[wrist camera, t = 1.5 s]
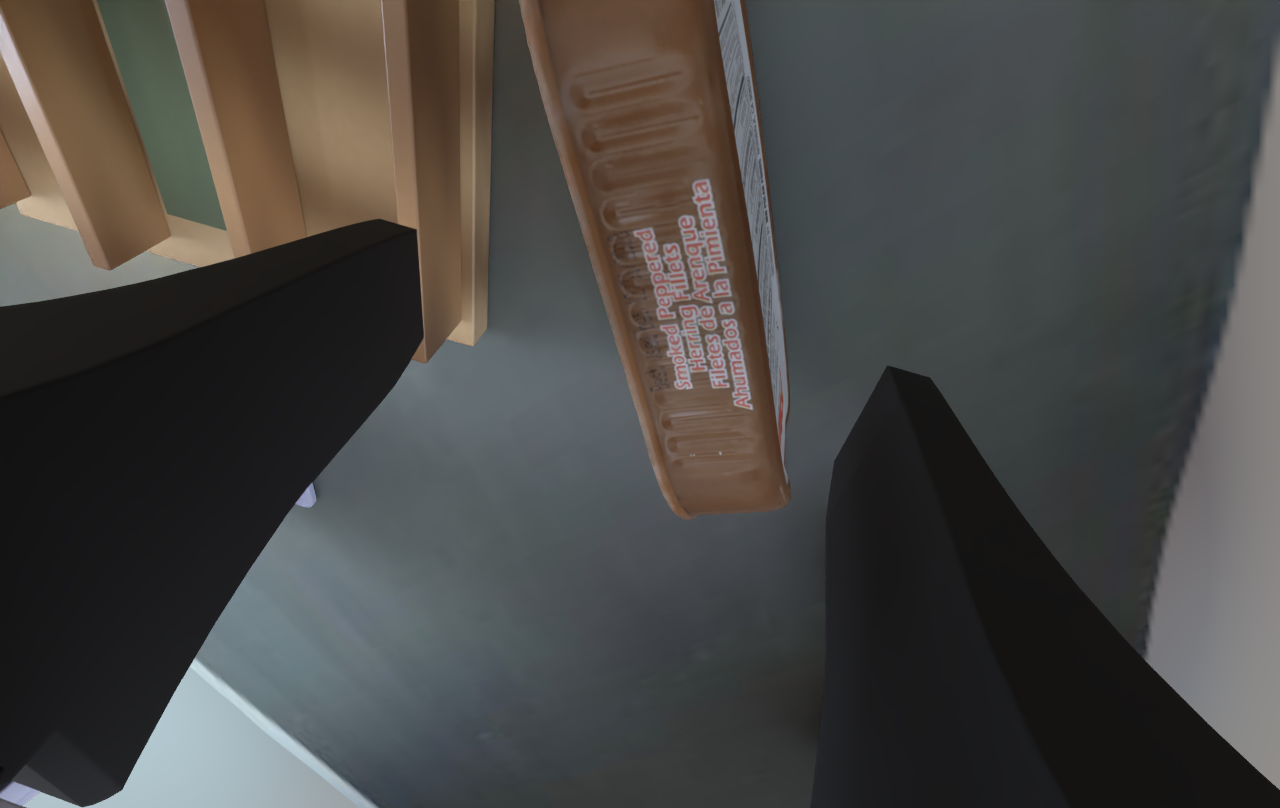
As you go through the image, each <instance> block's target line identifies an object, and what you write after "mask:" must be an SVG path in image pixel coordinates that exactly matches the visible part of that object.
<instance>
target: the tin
mask: <svg viewBox="0 0 1280 808" xmlns="http://www.w3.org/2000/svg"><path fill="white" fill-rule="evenodd" d="M519 3H520V7H521V15H522V19H523V22H524V26H525V31H526V38H527V43H528V46H529V49H530V54H531V58H532V63H533V68H534V72H535V75H536V77H537V81H538V85H539V89H540V93H541V97H542V101H543V104H544V108H545V111H546V115H547V118H548V121H549V125H550V128H551V131H552V135H553V138H554V141H555V144H556V148H557V151H558V154H559V158H560V161H561V164H562V168H563V171H564V174H565V178H566V181H567V184H568V187H569V191H570V194H571V197H572V200H573V203H574V206H575V210H576V213H577V216H578V219H579V223H580V226H581V230H582V234H583V237H584V240H585V244H586V247H587V250H588V253H589V257H590V260H591V263H592V267H593V270H594V273H595V276H596V278H597V282H598V286H599V290H600V293H601V296H602V298H603V302H604V305H605V308H606V312H607V315H608V318H609V322H610V325H611V328H612V332H613V335H614V338H615V342H616V345H617V349H618V353H619V356H620V360H621V362H622V365H623V368H624V371H625V374H626V379H627V382H628V385H629V389H630V392H631V396H632V400H633V403H634V406H635V409H636V412H637V415H638V418H639V421H640V425H641V429H642V432H643V436H644V439H645V442H646V446H647V450H648V454H649V457H650V460H651V463H652V466H653V469H654V472H655V475H656V478H657V481H658V484H659V487H660V489H661V491H662V494H663V496H664V497H665V499H666V501H667V502H668V504H669V506H670V507H671V509H672V511H673V512H674V513H675V514H677V515H678V516H679V517H680V518H683V519H687V520H688V519H693V518H695V517H697V516H698V515H711V514H730V513H752V512H766V511H772V510H777V509H781V508H783V507H785V506H786V505H787V504H788V503H789V501H790V499H791V485H790V481H789V478H788V476H787V473H786V470H785V434H786V426H787V421H788V417H789V411H790V386H789V373H788V361H787V350H786V339H785V327H784V317H783V309H782V301H781V291H780V281H779V272H778V264H777V255H776V246H775V237H774V228H773V218H772V209H771V200H770V190H769V181H768V172H767V163H766V155H765V146H764V138H763V130H762V121H761V114H760V106H759V99H758V91H757V83H756V76H755V68H754V61H753V54H752V47H751V39H750V32H749V25H748V18H747V11H746V4H745V0H519Z"/></svg>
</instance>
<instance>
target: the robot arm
mask: <svg viewBox="0 0 1280 808" xmlns="http://www.w3.org/2000/svg"><path fill="white" fill-rule="evenodd" d="M423 339H424V329H423V314H422V299H421V285H420V270H419V255H418V241H417V229H414V228H410V227H407V226H403V225H400V224H396V223H393V222H390V221H386V220H383V219H374V220H369V221H364V222H359V223H355V224H351V225H348V226H344V227H340V228H337V229H333V230H329V231H326V232H323V233H319V234H316V235H312V236H309V237H306V238H302V239H299V240H296V241H292V242H289V243H285V244H282V245H279V246H275V247H272V248H269V249H265V250H262V251H258V252H255V253H252V254H248V255H245V256H241V257H238V258H234V259H231V260H227V261H223V262H219V263H215V264H211V265H208V266H204V267H200V268H196V269H192V270H188V271H185V272H181V273H177V274H173V275H169V276H166V277H162V278H158V279H154V280H149V281H145V282H140V283H136V284H131V285H127V286H122V287H117V288H112V289H107V290H102V291H97V292H91V293H86V294H80V295H75V296H70V297H64V298H59V299H53V300H47V301H41V302H34V303H26V304H19V305H11V306H4V307H0V808H26V807H23V806H22V805H23V804H25V803H26V802H28V801H30V800H31V799H32V798H33V797H35V796H36V795H38V794H39V793H40V792H43V793H46V794H48V795H51V796H54V797H56V798H59V799H62V800H64V801H67V802H70V803H72V804H75V805H78V806H81V807H85V806H90V805H93V804H96V803H98V802H101V801H103V800H105V799H108V798H109V797H111V796H113V795H114V794H116V793H118V792H119V791H121V790H122V789H123V787H124V785H125V783H126V781H127V779H128V777H129V775H130V774H131V772H132V770H133V768H134V766H135V764H136V762H137V760H138V758H139V756H140V754H141V753H142V751H143V749H144V747H145V745H146V743H147V742H148V740H149V738H150V736H151V734H152V732H153V730H154V729H155V727H156V725H157V723H158V721H159V719H160V718H161V716H162V714H163V712H164V710H165V708H166V707H167V705H168V703H169V701H170V699H171V697H172V696H173V694H174V692H175V690H176V688H177V687H178V685H179V683H180V682H181V679H182V678H183V677H184V675H185V673H186V671H187V670H188V668H189V666H190V665H191V663H192V661H193V660H194V658H195V656H196V655H197V653H198V651H199V650H200V648H201V646H202V645H203V643H204V641H205V639H206V638H207V636H208V634H209V633H210V631H211V629H212V628H213V626H214V624H215V623H216V621H217V619H218V618H219V616H220V615H221V613H222V612H223V610H224V608H225V607H226V605H227V604H228V602H229V601H230V599H231V598H232V596H233V594H234V593H235V591H236V590H237V588H238V587H239V585H240V583H241V582H242V580H243V579H244V577H245V576H246V574H247V572H248V571H249V569H250V568H251V566H252V565H253V563H254V562H255V560H256V559H257V557H258V556H259V554H260V553H261V552H262V550H263V549H264V547H265V546H266V544H267V543H268V541H269V540H270V538H271V537H272V535H273V534H274V533H275V531H276V530H277V528H278V527H279V525H280V524H281V522H282V521H283V519H284V518H285V516H286V515H287V514H288V512H289V511H290V510H291V508H292V507H293V506H294V505H295V504H297V505H300V506H303V507H312V506H313V504H314V503H315V502H316V495H315V491H314V487H313V481H314V480H315V479H316V478H317V476H318V475H319V474H320V473H321V472H322V471H323V469H324V468H325V467H326V466H327V465H328V464H329V462H330V461H331V460H332V459H333V458H334V457H335V455H336V454H337V453H338V452H339V451H340V450H341V448H342V447H343V446H344V445H345V444H346V443H347V442H348V440H349V439H350V438H351V437H352V436H353V435H354V433H355V432H356V431H357V430H358V429H359V428H360V426H361V425H362V424H363V423H364V422H365V421H366V419H367V418H368V417H369V416H370V415H371V413H372V412H373V411H374V410H375V409H376V408H377V406H378V405H379V404H380V403H381V402H382V400H383V399H384V398H385V397H386V396H387V394H388V393H389V392H390V391H391V389H392V388H393V387H394V386H395V384H396V383H397V381H398V379H399V378H400V376H401V375H402V373H403V372H404V370H405V369H406V367H407V366H408V364H409V362H410V361H411V359H412V357H413V356H414V354H415V352H416V351H417V349H418V347H419V345H420V344H421V342H422V340H423ZM810 808H1280V790H1279V789H1278V788H1277V787H1276V786H1275V785H1273V784H1272V783H1271V782H1270V781H1269V780H1268V779H1267V778H1266V777H1264V776H1263V775H1262V774H1261V773H1260V772H1259V771H1258V770H1257V769H1255V767H1253V766H1252V765H1251V764H1250V763H1249V762H1248V761H1247V760H1246V759H1245V758H1244V757H1243V756H1242V755H1241V754H1240V753H1239V752H1237V751H1236V750H1235V749H1234V748H1233V747H1232V746H1231V745H1230V744H1229V743H1228V742H1227V741H1226V740H1225V739H1223V738H1222V737H1221V736H1220V735H1219V734H1218V733H1217V732H1216V731H1215V730H1214V729H1213V728H1212V727H1211V726H1210V725H1209V724H1207V722H1206V721H1205V720H1204V719H1203V718H1202V717H1201V716H1200V715H1199V714H1198V713H1197V712H1196V711H1195V710H1194V709H1193V708H1192V707H1191V706H1190V705H1189V704H1188V703H1187V702H1186V701H1185V700H1184V699H1183V698H1182V697H1180V695H1179V694H1178V693H1176V691H1175V690H1174V689H1173V688H1172V687H1171V686H1170V685H1169V684H1168V683H1167V682H1166V681H1165V680H1164V679H1163V678H1162V677H1161V676H1159V674H1158V673H1157V672H1156V671H1154V669H1153V668H1151V666H1150V665H1149V664H1148V663H1147V662H1146V661H1145V660H1144V659H1143V658H1142V657H1141V656H1140V655H1139V654H1138V653H1137V652H1136V650H1135V649H1134V648H1133V647H1132V646H1131V645H1130V644H1129V643H1128V642H1127V641H1126V640H1125V639H1124V638H1123V637H1122V636H1121V634H1120V633H1119V632H1118V631H1117V630H1116V629H1115V628H1114V626H1113V625H1112V624H1111V623H1110V622H1109V621H1108V620H1107V618H1106V617H1105V616H1104V615H1103V614H1102V613H1101V612H1100V611H1099V609H1098V608H1097V607H1096V606H1095V605H1094V604H1093V603H1092V601H1091V600H1090V599H1089V598H1088V597H1087V596H1086V595H1085V593H1084V592H1083V591H1082V590H1081V589H1080V588H1079V587H1078V585H1077V584H1076V583H1075V582H1074V581H1073V579H1072V578H1071V577H1070V576H1069V575H1068V573H1067V572H1066V571H1065V570H1064V568H1063V567H1062V566H1061V565H1060V564H1059V562H1058V561H1057V560H1056V559H1055V557H1054V556H1053V555H1052V553H1051V552H1050V551H1049V549H1048V548H1047V547H1046V545H1045V544H1044V543H1043V542H1042V540H1041V539H1040V538H1039V536H1038V535H1037V534H1036V532H1035V531H1034V530H1033V528H1032V527H1031V526H1030V524H1029V523H1028V522H1027V521H1026V519H1025V518H1024V516H1023V515H1022V514H1021V512H1020V511H1019V510H1018V508H1017V507H1016V505H1015V504H1014V503H1013V501H1012V500H1011V498H1010V497H1009V496H1008V494H1007V493H1006V491H1005V490H1004V488H1003V487H1002V485H1001V484H1000V483H999V481H998V480H997V478H996V477H995V475H994V474H993V472H992V471H991V469H990V468H989V466H988V465H987V463H986V462H985V460H984V459H983V457H982V456H981V454H980V453H979V451H978V450H977V448H976V447H975V445H974V444H973V442H972V440H971V439H970V437H969V436H968V434H967V433H966V431H965V430H964V428H963V426H962V425H961V423H960V422H959V420H958V419H957V417H956V416H955V414H954V412H953V411H952V409H951V408H950V406H949V405H948V403H947V402H946V400H945V399H944V397H943V395H942V394H941V393H940V391H939V390H938V388H937V387H936V385H935V384H934V383H933V381H932V380H931V378H929V377H926V376H922V375H919V374H915V373H912V372H909V371H905V370H902V369H898V368H895V367H891V366H888V365H887V367H886V369H885V371H884V373H883V374H882V376H881V378H880V380H879V382H878V383H877V385H876V387H875V389H874V391H873V392H872V394H871V396H870V398H869V400H868V402H867V403H866V405H865V407H864V409H863V411H862V412H861V414H860V416H859V418H858V420H857V421H856V423H855V425H854V427H853V429H852V430H851V432H850V434H849V436H848V438H847V439H846V441H845V443H844V445H843V447H842V448H841V450H840V452H839V454H838V456H837V458H836V459H835V461H834V467H833V473H832V480H831V487H830V493H829V501H828V508H827V516H826V660H825V683H824V695H823V704H822V714H821V723H820V732H819V742H818V751H817V759H816V767H815V775H814V783H813V791H812V799H811V807H810Z"/></svg>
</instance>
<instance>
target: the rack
mask: <svg viewBox="0 0 1280 808" xmlns="http://www.w3.org/2000/svg"><path fill="white" fill-rule="evenodd" d="M494 4H495V0H0V209H1V208H4V207H6V206H9V205H11V204H13V203H16V205H17V207H18V209H19V211H20V213H21V214H22V215H24V216H28V217H31V218H34V219H38V220H41V221H45V222H48V223H52V224H55V225H58V226H62V227H65V228H69V229H72V230H75V231H79V234H80V236H81V238H82V240H83V243H84V245H85V247H86V250H87V252H88V254H89V256H90V259H91V261H92V263H93V265H94V266H96V267H99V268H103V269H106V270H113V269H114V268H116V267H118V266H120V265H121V264H123V263H125V262H127V261H129V260H130V259H132V258H134V257H136V256H137V255H139V254H141V253H143V252H145V251H147V252H151V253H154V254H158V255H161V256H164V257H168V258H171V259H175V260H178V261H181V262H185V263H188V264H192V265H195V266H199V267H204V266H208V265H211V264H215V263H219V262H223V261H227V260H231V259H234V258H238V257H241V256H245V255H248V254H252V253H255V252H258V251H262V250H265V249H269V248H272V247H275V246H279V245H282V244H285V243H289V242H292V241H296V240H299V239H302V238H306V237H309V236H312V235H316V234H319V233H323V232H326V231H329V230H333V229H337V228H340V227H344V226H348V225H351V224H355V223H359V222H364V221H369V220H374V219H383V220H386V221H390V222H393V223H396V224H400V225H403V226H407V227H410V228H414V229H417V241H418V255H419V270H420V285H421V299H422V314H423V329H424V339H423V340H422V342H421V344H420V345H419V347H418V349H417V351H416V352H415V354H414V356H413V357H412V360H415V361H418V362H422V363H427V362H428V361H429V360H430V358H431V357H432V356H433V355H434V354H435V352H436V351H437V350H438V349H439V347H440V346H441V345H442V344H443V343H444V341H445V340H446V339H448V340H452V341H455V342H458V343H462V344H465V345H469V346H474V345H475V344H476V343H477V341H478V340H479V339H480V337H481V336H482V335H483V333H484V332H485V331H486V329H487V308H488V264H489V221H490V178H491V134H492V91H493V47H494Z"/></svg>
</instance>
